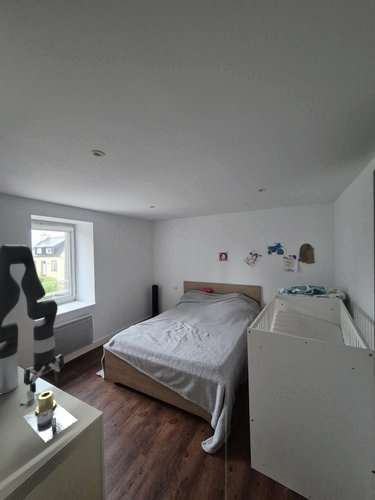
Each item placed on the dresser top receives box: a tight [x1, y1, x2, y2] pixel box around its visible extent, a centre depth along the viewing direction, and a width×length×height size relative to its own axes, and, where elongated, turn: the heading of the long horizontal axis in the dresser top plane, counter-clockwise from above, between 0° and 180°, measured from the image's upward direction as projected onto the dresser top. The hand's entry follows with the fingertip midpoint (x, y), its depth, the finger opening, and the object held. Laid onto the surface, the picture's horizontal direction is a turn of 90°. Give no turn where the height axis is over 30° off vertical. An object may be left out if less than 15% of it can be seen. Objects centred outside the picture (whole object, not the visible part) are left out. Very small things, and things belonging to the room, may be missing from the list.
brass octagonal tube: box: [34, 390, 58, 415], centre depth 86 cm, size 7×7×6 cm
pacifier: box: [20, 389, 42, 405], centre depth 92 cm, size 7×6×6 cm
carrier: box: [22, 403, 78, 443], centre depth 81 cm, size 21×11×5 cm, turn 57°
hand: (45, 385), depth 86 cm, fingers open, 8 cm apart
